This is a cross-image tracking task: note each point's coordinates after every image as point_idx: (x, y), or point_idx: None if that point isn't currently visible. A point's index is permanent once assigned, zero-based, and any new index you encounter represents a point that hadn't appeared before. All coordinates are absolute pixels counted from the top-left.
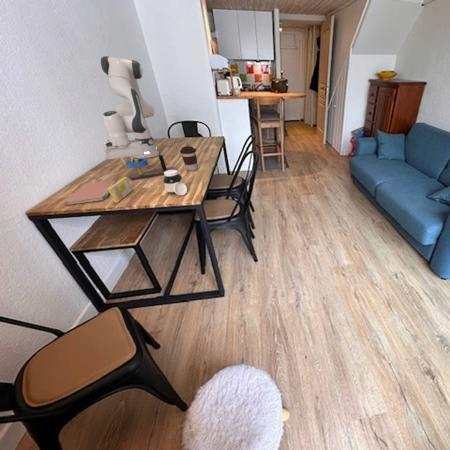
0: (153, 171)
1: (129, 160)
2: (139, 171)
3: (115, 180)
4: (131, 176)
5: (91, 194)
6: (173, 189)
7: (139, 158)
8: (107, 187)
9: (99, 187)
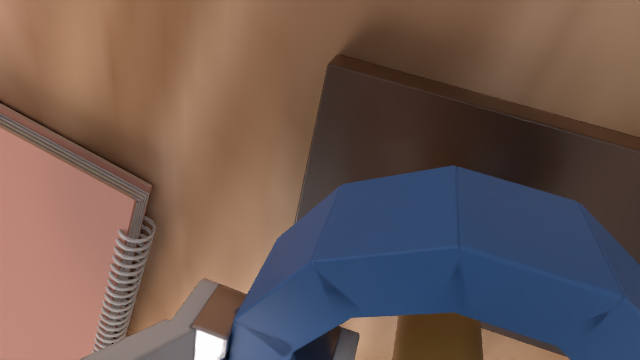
0: (637, 259)
1: (301, 311)
2: None
3: (134, 208)
4: (304, 215)
5: (13, 353)
6: None
7: (609, 345)
8: (87, 327)
9: (29, 279)
